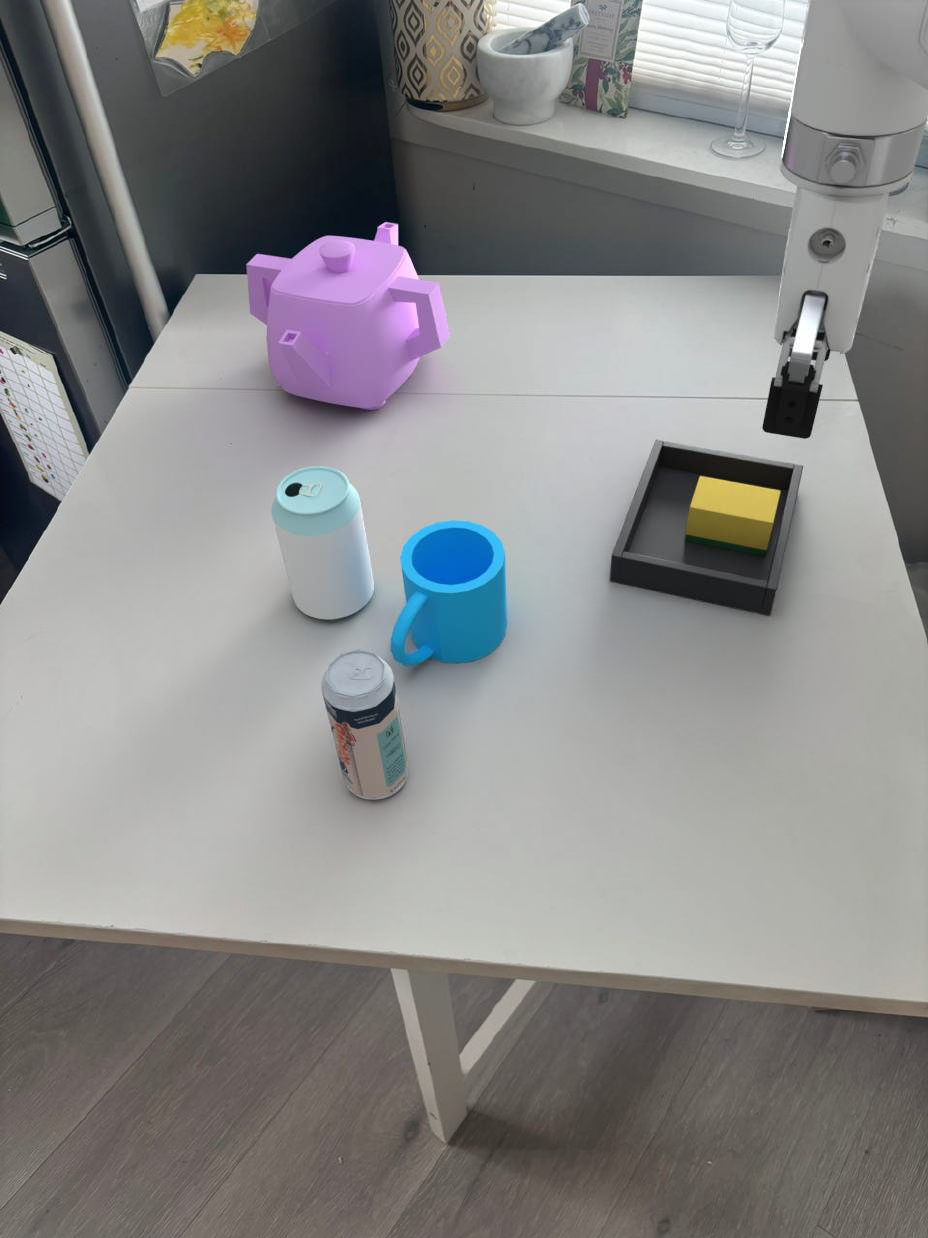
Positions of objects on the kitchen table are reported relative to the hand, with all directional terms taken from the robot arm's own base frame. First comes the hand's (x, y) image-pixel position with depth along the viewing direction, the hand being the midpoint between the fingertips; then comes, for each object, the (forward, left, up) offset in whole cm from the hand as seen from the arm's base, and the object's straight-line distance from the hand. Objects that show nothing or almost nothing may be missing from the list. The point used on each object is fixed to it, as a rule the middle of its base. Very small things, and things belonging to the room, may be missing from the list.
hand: (796, 393), depth 70 cm
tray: (+5, -5, -19) cm, 21 cm away
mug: (+23, +14, -20) cm, 33 cm away
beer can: (+23, +28, -20) cm, 41 cm away
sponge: (+3, -5, -19) cm, 20 cm away
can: (+34, +12, -20) cm, 41 cm away
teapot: (+46, -19, -20) cm, 53 cm away
